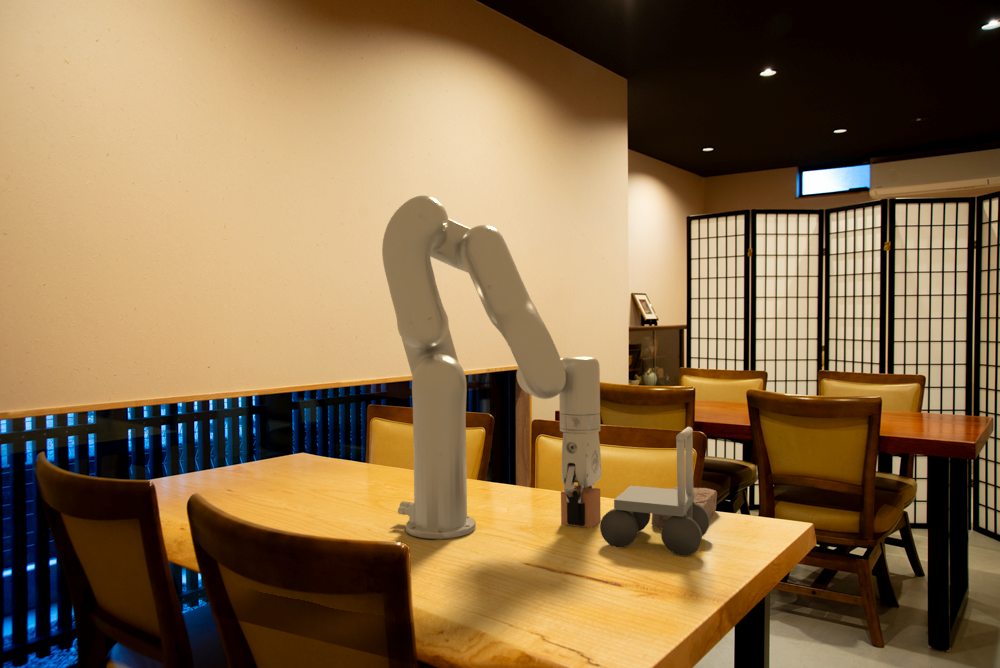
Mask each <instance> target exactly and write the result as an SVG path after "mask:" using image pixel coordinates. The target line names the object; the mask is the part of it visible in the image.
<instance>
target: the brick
mask: <svg viewBox="0 0 1000 668" xmlns="http://www.w3.org/2000/svg"><path fill="white" fill-rule="evenodd" d="M671 489H676V490H677V486H675V487H672V488H671ZM685 490H686V486H685ZM693 491H694V502H695V503H698V504H700V505H701V506H702V507H704V509H705V510H706V511H707V513H708V515H709V519H710V518H711V517H712V516H714V515H713V514H714V513H715V512H716V510H717V497H718V491H716V490H714V489H711V488H707V487H693ZM713 512H714V513H713ZM651 514H652V513H651ZM651 516H652V517H651V518H652V519H651V525H652V527H654V528H659V529H662V527H663V525H664V524H665V523H666V521H667V520H668V519H669V518H670V517H672V516H671V515H661V514H652V515H651Z"/></svg>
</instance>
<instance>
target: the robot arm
mask: <svg viewBox="0 0 1000 668" xmlns="http://www.w3.org/2000/svg"><path fill="white" fill-rule="evenodd" d="M381 247H382V249H381V250H382V263H383V268H384V273H385V276H386V282H387V285H388V288H389V294H390V297H391V302H392V305H393V308H394V312H395V318H396V325H397V331H398V333H399V335H400V337H401V340H402V344H403V348H404V351H405V355H406V359H407V362H408V365H409V369H410V372H411V377H412V379H411V382H412V383H411V385H412V386H411V395H412V421H413V422H412V432H413V433H412V434H413V435H412V438H413V440H412V443H413V497H414V498H413V502H411V501H405V500H404V501H403V500H402V501H401V502H400V503H399V507H398V508H397V513H398V515H408V519H409V520H408V521H407V522H406V524H405V531H406V533H408V534H409V535H410V536H413V537H416V538H421V539H433V540H434V539H435V540H436V539H437V540H439V539H440V540H442V539H453V538H459V537H462V536H466V535H468V534H470V533H472V532H473V531H475V529H476V520H475V519H474V518H473V517H471V516H469V515H468V497H467V496H468V495H467V494H468V493H467V492H468V491H467V489H468V488H467V478H468V477H467V441H466V440H467V434H466V433H467V431H466V429H467V428H466V427H467V425H466V424H467V423H466V421H467V420H466V417H467V392H468V391H467V377H466V373H465V370H464V369H463V367H462V365H461V364H460V362H459V360H458V359H459V358H458V356H457V351H456V349H455V345H454V341H453V337H452V335H451V334H452V333H451V331H450V326H449V317H448V314H447V311H446V310H445V307H444V305H443V302H442V299H441V295H440V293H439V289H438V285H437V281H436V278H435V273H434V269H433V266H432V261H431V258H433V259H434V260H437V261H440V262H442V263H444V264H446V265H448V266H450V267H453V268H454V269H458V270H459V271H462V272H465V273H468V275H469V277H470V279H471V281H472V284H473V285H474V287H475V291H477V292H476V293H477V295H478V296H479V299H480V302H481V304H482V306H483V309H484V311H485V313H486V315H487V317H488V318H489V320H490V322H491V324H492V325H493V326H494V327H495V329H497V330H498V332H499V333H500V334H501V336H502V337H503V338H504V339H503V340H505V342H506V344H507V346H508V347H509V349H510V351H511V353H512V355H513V358H514V360H515V362H516V364H517V366H518V368H517V371H516V381H517V383H518V385H519V387H520V389H522V391H524V392H525V393H526V394H528V395H530V396H533V397H535V398H536V399H541V400H548V399H552V398H555V397H557V396H558V395H559V396H558V397H559V398H558V399H559V432H562V444H561V482H562V484H563V485H564V489H563V490H564V491H565V492H566V495H567V499H566V501H567V523H568V524H570V525H569V526H573V525H578V526H577V527H581V526H583V525H584V524H585V503H583V491H584V488H595V484H596V483H597V482H598V481H600V480H601V478H602V459H601V458H602V456H601V445H600V444H601V443H600V441H601V440H600V435H599V434H600V433H599V432H601V388H600V387H601V383H600V382H601V378H600V375H601V369H600V363H599V360H598V359H597V358H596V357H594V356H567V357H563V358H561V356H560V354H559V352H558V349H557V347H556V344H555V342H554V339H553V337H552V336H551V334H550V332H549V330H548V328H547V326H546V324H545V323H544V320H543V319H542V317H541V315H540V314H539V312H538V310H537V307H536V305H535V304H534V302H533V300H532V299H531V297H530V295H529V293H528V290H527V288H526V285H525V283H524V281H523V280H522V278H521V275H520V273H519V270H518V268H517V266H516V264H515V260H514V258H513V256H512V254H511V252H510V249H509V248H508V245H507V243H506V241H505V239H504V237H503V235H502V234H501V232H500V231H499V230H497V228H495V227H493V226H491V225H488V224H483V225H482V224H480V225H477V226H474V227H472V228H470V227H468V226H465V225H463V224H461V223H459V222H457V221H455V220H452V219H451V218H449V216H448V213H447V210H446V208H445V207H444V205H443V204H442V203H441V202H440V201H439V200H437V199H436V198H435V197H433V196H430V195H417V196H414V197H412V198H410V199H408V200H407V201H406V202H404V203H403V204H402V205H400V207H398V209H397V210H396V211H395V212H394V213H393V215H392V216H391V217H390V220H388V223H387V225H386V228H385V231H384V235H383V239H382V246H381ZM575 483H577V485H575ZM574 489H579V494H578V493H577V491H575V490H574Z"/></svg>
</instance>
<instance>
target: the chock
mask: <svg viewBox="0 0 1000 668" xmlns="http://www.w3.org/2000/svg"><path fill="white" fill-rule="evenodd" d="M574 490H575V491H577V493H578V494H579V489H574ZM566 499H567V495H566V492H565V491H564V489H563V490H561V491H560V520H561V522H560V523H561V525H565V524H568V523H567V501H566ZM583 503H585V524H584V525H583V526H580V527H583V528H591V529H593V528H595V526H596V525H598V524H599V523H601V520H602V518H601V488H597V487H596V488H595V487H594V488H584V491H583ZM567 526H571V525H570V524H568V525H567ZM572 526H575V527H579V526H578V525H572Z"/></svg>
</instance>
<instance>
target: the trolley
mask: <svg viewBox="0 0 1000 668" xmlns="http://www.w3.org/2000/svg"><path fill="white" fill-rule="evenodd" d="M693 431H694V430H693V428H692V427H691V426H687V427H686V428H684V429H683V430H682V431H680V432H679V433H678V434H677V435H676V436H675V440H676V480H677V481H676V483H677V490H676V489H672V488H665V487H664V488H663V487H662V488H661V487H651V486H640V485H629V486H628V487H627V488H626V489H625V490H624V491H622V492H621V493H620V494H618V495H617V497H616V498H614V499H613V509H611V510H609V511H608V512H606V513H605V514H604V515H603V516H602V518H601V521H600V522H599V523H600V524H599V529H600V534H601V536H602V538H603V539H604V541H605V542H606V543H607V544H609V546H611V547H614V548H618V549H619V548H620V549H623V548H627V547H629V546H630V545H631V544H632V543H633V542H634V541H635V539H637V537H638V534H639V532H641V531H642V530H644V529H645V528H646V527H647V526H648V524H649V523H650V519H651V514H661V515H671V516H672V517H670V518H669V519H668V520H667V521H666V523H665V524H664V525H663V527H662V528H661V533H660V534H661V535H660V536H661V540H662V543H663V545H664V546H665V548H666V549H667V551H669V552H670V553H672V554H674V555H676V556H680V557H688V556H691V555H693V554H694V553H696V551H697V550H698V549H699V547H700V546H701V543H702V539H703V537H704V535H706V533H707V531H708V529H709V527H710V523H711V522H710V518H709V515H708V513H707V511H706V510H705V509H704V507H702V506H701V505H700V504H698V503H695V502H694V491H693V488H694V458H693V457H694V453H693V452H694V451H693V450H694V449H693V433H694V432H693ZM685 487H686V490H685Z"/></svg>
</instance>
